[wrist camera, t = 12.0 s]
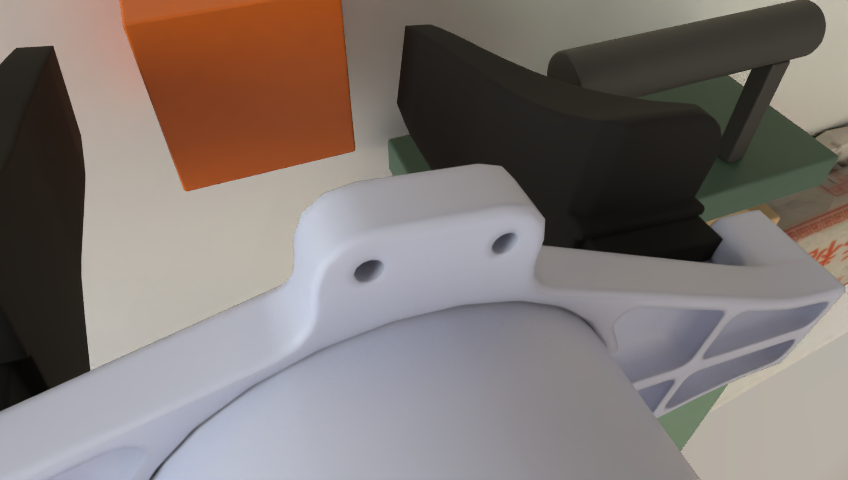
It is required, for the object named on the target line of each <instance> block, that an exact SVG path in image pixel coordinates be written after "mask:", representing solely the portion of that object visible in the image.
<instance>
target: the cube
mask: <svg viewBox="0 0 848 480" xmlns="http://www.w3.org/2000/svg"><path fill="white" fill-rule="evenodd" d="M120 8H121V15H122V22H123V27H124V30H125V33H126V35H127V38H128V41H129V43H130V46H131V49H132V51H133V54H134V57H135V59H136V62H137V65H138V67H139V70H140V73H141V76H142V78H143V81H144V84H145V86H146V89H147V92H148V94H149V97H150V100H151V102H152V105H153V108H154V111H155V113H156V116H157V119H158V121H159V124H160V127H161V129H162V132H163V135H164V137H165V140H166V143H167V146H168V148H169V151H170V154H171V156H172V159H173V162H174V164H175V167H176V170H177V172H178V175H179V178H180V181H181V183H182V186H183V189H184V190H185V191H191V190H195V189H199V188H203V187H207V186H211V185H216V184H220V183H224V182H228V181H232V180H236V179H241V178H245V177H249V176H253V175H257V174H261V173H266V172H270V171H274V170H278V169H282V168H287V167H291V166H295V165H299V164H303V163H307V162H312V161H316V160H320V159H324V158H328V157H332V156H337V155H341V154H345V153H349V152H353V151H355V142H354V131H353V121H352V110H351V100H350V89H349V78H348V68H347V57H346V47H345V36H344V25H343V15H342V4H341V0H120Z"/></svg>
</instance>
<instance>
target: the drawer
mask: <svg viewBox="0 0 848 480" xmlns="http://www.w3.org/2000/svg"><path fill="white" fill-rule="evenodd" d="M825 28H826V22H825V17H824V14H823V12H822V10H821V9H820V8H819V6H818V5H816V4H815V3H813V2H811V1H809V0H795V1H791V2H786V3H781V4H777V5H772V6H768V7H763V8H758V9H754V10H749V11H744V12H740V13H735V14H730V15H726V16H721V17H716V18H712V19H707V20H702V21H698V22H693V23H688V24H684V25H679V26H674V27H670V28H665V29H660V30H656V31H651V32H647V33H642V34H637V35H633V36H628V37H623V38H619V39H614V40H609V41H605V42H600V43H595V44H591V45H586V46H581V47H577V48H572V49H567V50H563V51H559V52H557V53H556V54H554V55H553V57H552V58H551V60H550V62H549V65H548V71H547V77H550V78H553V79H556V80H559V81H562V82H565V83H568V84H572V85H575V86H579V87H583V88H587V89H591V90H595V91H599V92H603V93H608V94H614V95H619V96H625V97H631V98H638V99H644V100H652V101H664V102H677V103H689V104H696V105H698V106H700V107H701V108H702V109H704V110H705V111H706V112H707V113H708V114H710V115H711V116H712V117H713V118H715V120H716V121H717V122H718V124H719V125H720V127H721V133H722V139H721V144H720V150H719V153H718V155H717V157H716V160H715V162H714V164H713V166H712V167H711V169H710V171H709V173H708V175H707V176H706V178H705V180H704V182H703V183H702V185H701V187H700V189H699V191H698V192H697V194H696V196H695V197H696V198H697V199H698V200H699V201H700V202H701V203H702V204H703V205H704V208H705V210H704V212H703V214H702V215H699V216H700V217H701V218H702V219H703V220H704V221H705V222H706V223H707V224H708V225H709V226H710V225H711V224H712V223H714V222H715V221H716V220H718V219H720V218H723V217H726V216H731V215H735V214H740V213H744V212H749V211H754V210H760V211H761V212H762V213H763V214H765V215H766V216H767V217H768V218H769V219H770V220H771V221H772V222H774V223H775V224H776V225H777V223H778V221H779V220H780V216H779V215H777V214H776V213H775V212H774V211H773V210H772V209H771V208H769V207H768V206H767V205H766V204H765V203H767V202H770V201H773V200H776V199H779V198H783V197H786V196H789V195H792V194H795V193H798V192H801V191H804V190H807V189H811V188H814V187H817V186H820V185H821V184H822V183H823V182H824V180H825V178H826V177H827V175H828V174H829V172H830V171H831V169H832V167H833V166H834V164H835V163H836V161H837V159H838V157H839V156H838V155H837V154H835V153H834V152H833V151H831V150H830V149H829V148H827V147H826V146H825V145H823V144H822V143H820V142H819V141H818V140H816V139H815V138H814V137H812V136H811V135H809V134H808V133H807V132H805V131H804V130H803V129H801V128H800V127H798V126H797V125H796V124H794V123H793V122H792V121H790V120H789V119H788V118H786V117H785V116H783V115H782V114H781V113H779V112H778V111H777V110H775V109H774V108H772V107H771V106H770V105H769V104H770V102H771V100H772V98H773V96H774V94H775V92H776V90H777V87H778V85H779V83H780V81H781V79H782V77H783V75H784V73H785V71H786V69H787V67H788V65H789V63H790V61H789V60H791V59H795V58H799V57H803V56H806V55H809V54H810V53H812V52H813V51H814V50H815V49H816V48H817V47H818V46H819V45H820V43H821V42H822V40H823V37H824V34H825ZM750 69H752V70H751V72H750V74H749V76H748V79H747V81H746V83H745V85H744V86H742V85H741V84H740V83H738V82H737V81H735V80H734V79H733V78H731V77H730V76H729V75H730V74H734V73H738V72H742V71H746V70H750ZM388 151H389V169H390V170H391V172H392V174H393V176H398V175H405V174H411V173H418V172H425V171H432V170H431V168H430V167H429V165H428V164H427V162H426V160H425V159H424V157H423V155H422V154H421V152H420V151H419V149H418V147H417V146H416V144H415V142H414V141H413V139H412V137H411V136H410V135H406V136H401V137H397V138H393V139H390V140H389V141H388Z"/></svg>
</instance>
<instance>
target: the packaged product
mask: <svg viewBox="0 0 848 480" xmlns="http://www.w3.org/2000/svg"><path fill="white" fill-rule="evenodd" d="M815 139H816V140H818V141H819V142H820V143H822V144H823V145H825V146H826V147H827V148H829V149H830V150H831V151H833V152H834V153H835V154H837V155H838V156H839V157H838V159H837V161H836V163H835V164H834V166H833V167H832V169H831V171H830V172H829V174H828V175H827V177H826V178H825V180H824V182H823V183H822V184H821V185H820V186H817V187H814V188H811V189H807V190H804V191H801V192H798V193H795V194H792V195H789V196H786V197H783V198H779V199H776V200H773V201H770V202H767V203H765V204H766V205H767V206H768V207H769V208H771V209H772V210H773V211H774V212H775V213H776V214H777V215H779V216H780V220H779V221H778V223H777V226H778V227H779V228H780V229H781V230H782V231H784V232H785V233H786V234H787V235H788V236H789V237H790V238H791V239H793V240H794V241H795V242H796V243H797V244H798V245H799V246H800V247H802V248H803V249H804V250H805V251H806V252H807V253H808V254H809V255H810V256H812V257H813V258H814V259H815V260H816V261H817V262H818V263H819V264H821V265H822V266H823V267H824V268H825V269H826V270H827V271H828V272H830V273H831V274H832V275H833V276H834V277H835V278H836V279H837V280H838V281H840V282H841V283H842V284H843V285H846V284H848V126H846V127H842V128H837V129H832V130H827V131H825V132H824V133H822V134H821V135H819V136H817V137H816V138H815Z"/></svg>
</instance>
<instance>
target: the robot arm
mask: <svg viewBox="0 0 848 480" xmlns="http://www.w3.org/2000/svg"><path fill="white" fill-rule="evenodd" d="M397 105H398V107H399V110H400V112H401V115H402V117H403V120H404V122H405V124H406V127H407V129H408V131H409V134H410V136H411V137H412V139H413V141H414V142H415V144H416V146H417V147H418V149H419V151H420V152H421V154H422V155H423V157H424V159H425V160H426V162H427V164H428V165H429V167H430V168H431V170H432V171H425V172H418V173H411V174H405V175H398V176H391V177H385V178H378V179H371V180H364V181H358V182H353V183H351V184H348V185H345V186H342V187H339V188H337V189H334V190H331V191H328V192H326V193H324V194H322V195H321V196H320V197H319V198H318V199H317V200H316V201H315V202H314V203H313V204H312V205H311V206H310V207H308V208H307V209H306V210H305V211H304V212H303V213H302V214H301V216H300V219H299V222H298V226H297V229H296V232H295V235H294V238H293V243H294V266H293V272H292V275H291V277H290V278H289V279H288V280H287V281H286V282H285V283H284V284H282V285H280V286H278V287H276V288H273V289H271V290H269V291H267V292H264V293H262V294H260V295H258V296H256V297H253V298H251V299H249V300H247V301H244V302H242V303H240V304H238V305H236V306H233V307H231V308H229V309H227V310H224V311H222V312H220V313H218V314H216V315H213V316H211V317H209V318H207V319H204V320H202V321H200V322H198V323H196V324H193V325H191V326H189V327H187V328H184V329H182V330H180V331H178V332H176V333H173V334H171V335H169V336H167V337H164V338H162V339H160V340H158V341H156V342H153V343H151V344H149V345H147V346H144V347H142V348H140V349H138V350H136V351H133V352H131V353H129V354H127V355H124V356H122V357H120V358H118V359H116V360H113V361H111V362H109V363H107V364H104V365H102V366H100V367H98V368H96V369H93V370H91V371H90V363H89V354H88V344H87V334H86V324H85V314H84V302H83V291H82V279H81V254H82V236H83V218H84V198H85V166H84V157H83V148H82V140H81V134H80V131H79V128H78V125H77V121H76V118H75V115H74V112H73V108H72V105H71V102H70V99H69V95H68V92H67V89H66V86H65V82H64V79H63V76H62V73H61V70H60V66H59V63H58V60H57V57H56V53H55V50H54V47H53V46H42V47H24V48H16V49H15V50H14V51H13V52H12V53H11V54H10V55H9V56H8V57H7V58H6V59H5V60H4V61H3V62H2V63H1V64H0V480H700V478H699V477H698V476H697V474H696V473H695V471H694V470H693V469H692V467H691V466H690V464H689V463H688V462H687V460H686V459H685V458H684V456H683V455H682V453H681V452H680V450H679V449H678V448H677V446H676V445H675V443H674V442H673V441H672V439H671V438H670V436H669V435H668V434H667V432H666V431H665V429H664V428H663V427H662V425H661V424H660V422H659V421H658V420H657V418H658V417H660V416H662V415H664V414H666V413H668V412H670V411H672V410H674V409H676V408H678V407H680V406H682V405H684V404H686V403H688V402H690V401H692V400H694V399H696V398H698V397H701V396H703V395H705V394H707V393H709V392H711V391H713V390H715V389H717V388H719V387H722V386H724V385H726V384H728V383H731V382H733V381H735V380H738V379H740V378H742V377H745V376H747V375H750V374H752V373H755V372H757V371H760V370H763V369H765V368H768V367H771V366H773V365H776V364H779V363H781V362H782V361H783V360H784V359H785V358H786V357H787V355H788V354H789V353H790V352H791V351H792V350H793V349H794V348H795V347H796V346H797V344H798V343H799V342H800V341H801V340H802V339H803V338H804V337H805V336H806V335H807V333H808V332H809V331H810V330H811V329H812V328H813V327H814V326H815V325H816V324H817V322H818V321H819V320H820V319H821V318H822V317H823V316H824V315H825V314H826V313H827V311H828V310H829V309H830V308H831V307H832V306H833V305H834V304H835V303H836V301H837V300H838V299H839V298H840V297H841V296H842V295H843V294H844V293H845V286H844V285H843V284H842V283H841V282H840V281H838V280H837V279H836V278H835V277H834V276H833V275H832V274H831V273H830V272H828V271H827V270H826V269H825V268H824V267H823V266H822V265H821V264H819V263H818V262H817V261H816V260H815V259H814V258H813V257H812V256H810V255H809V254H808V253H807V252H806V251H805V250H804V249H803V248H802V247H800V246H799V245H798V244H797V243H796V242H795V241H794V240H793V239H791V238H790V237H789V236H788V235H787V234H786V233H785V232H784V231H782V230H781V229H780V228H779V227H778V226H777V225H776V224H775V223H774V222H772V221H771V220H770V219H769V218H768V217H767V216H766V215H765V214H763V213H762V212H761V211H760V210H754V211H749V212H744V213H740V214H735V215H731V216H726V217H723V218H720V219H718V220H716V221H715V222H714V223H712V224H711V225H710V226H709V225H708V224H707V223H706V222H705V221H704V220H703V219H702V218H701V217H700V216H699V215H702V214H703V212H704V210H705V208H704V205H703V204H702V203H701V202H700V201H699V200H698V199H697V198H696V197H695V196H696V194H697V192H698V191H699V189H700V187H701V185H702V183H703V182H704V180H705V178H706V176H707V175H708V173H709V171H710V169H711V167H712V166H713V164H714V162H715V160H716V157H717V155H718V153H719V150H720V144H721V139H722V133H721V127H720V125H719V124H718V122H717V121H716V120H715V118H713V117H712V116H711V115H710V114H708V113H707V112H706V111H705V110H704V109H702V108H701V107H700V106H698V105H696V104H689V103H677V102H664V101H652V100H644V99H638V98H631V97H625V96H619V95H614V94H608V93H603V92H599V91H595V90H591V89H587V88H583V87H579V86H575V85H572V84H568V83H565V82H562V81H559V80H556V79H553V78H550V77H547V76H544V75H541V74H539V73H536V72H533V71H531V70H529V69H526V68H524V67H522V66H519V65H517V64H515V63H512V62H510V61H508V60H506V59H504V58H501V57H499V56H497V55H495V54H493V53H491V52H489V51H487V50H485V49H483V48H481V47H479V46H477V45H475V44H473V43H471V42H469V41H467V40H465V39H463V38H461V37H459V36H457V35H455V34H453V33H450V32H448V31H446V30H444V29H441V28H439V27H436V26H433V25H413V26H405V35H404V44H403V53H402V62H401V71H400V80H399V89H398V98H397Z"/></svg>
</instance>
